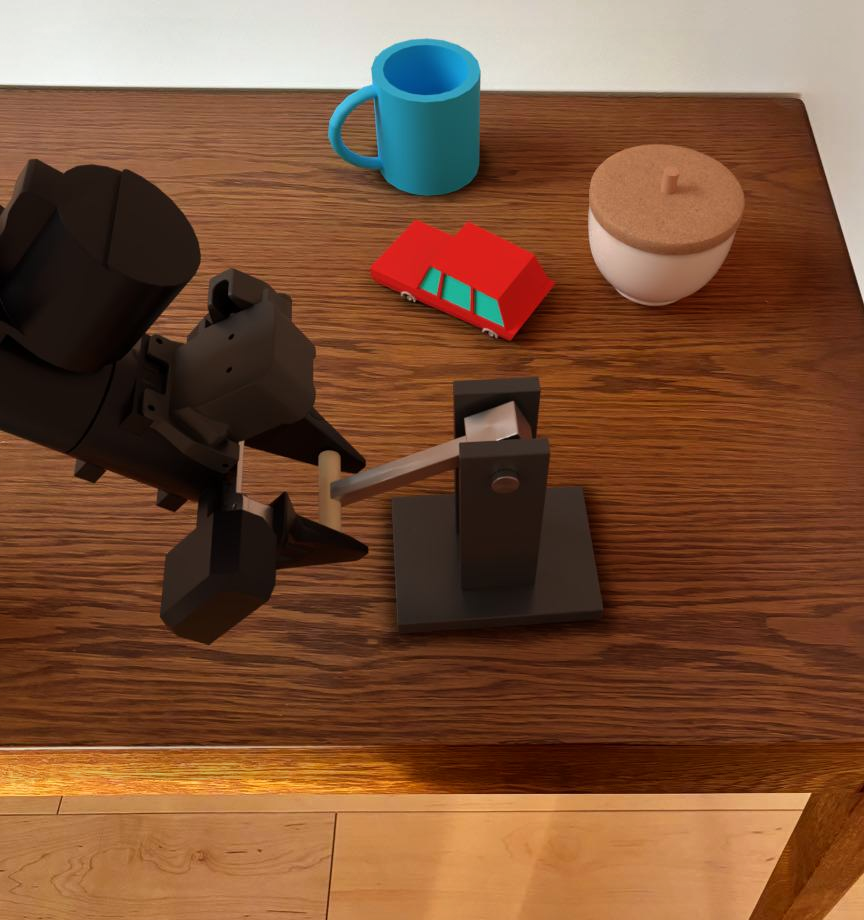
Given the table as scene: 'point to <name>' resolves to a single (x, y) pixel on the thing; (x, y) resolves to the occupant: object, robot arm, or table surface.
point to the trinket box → (662, 221)
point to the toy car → (465, 276)
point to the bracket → (495, 532)
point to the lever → (411, 463)
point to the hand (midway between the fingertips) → (363, 509)
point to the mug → (420, 117)
